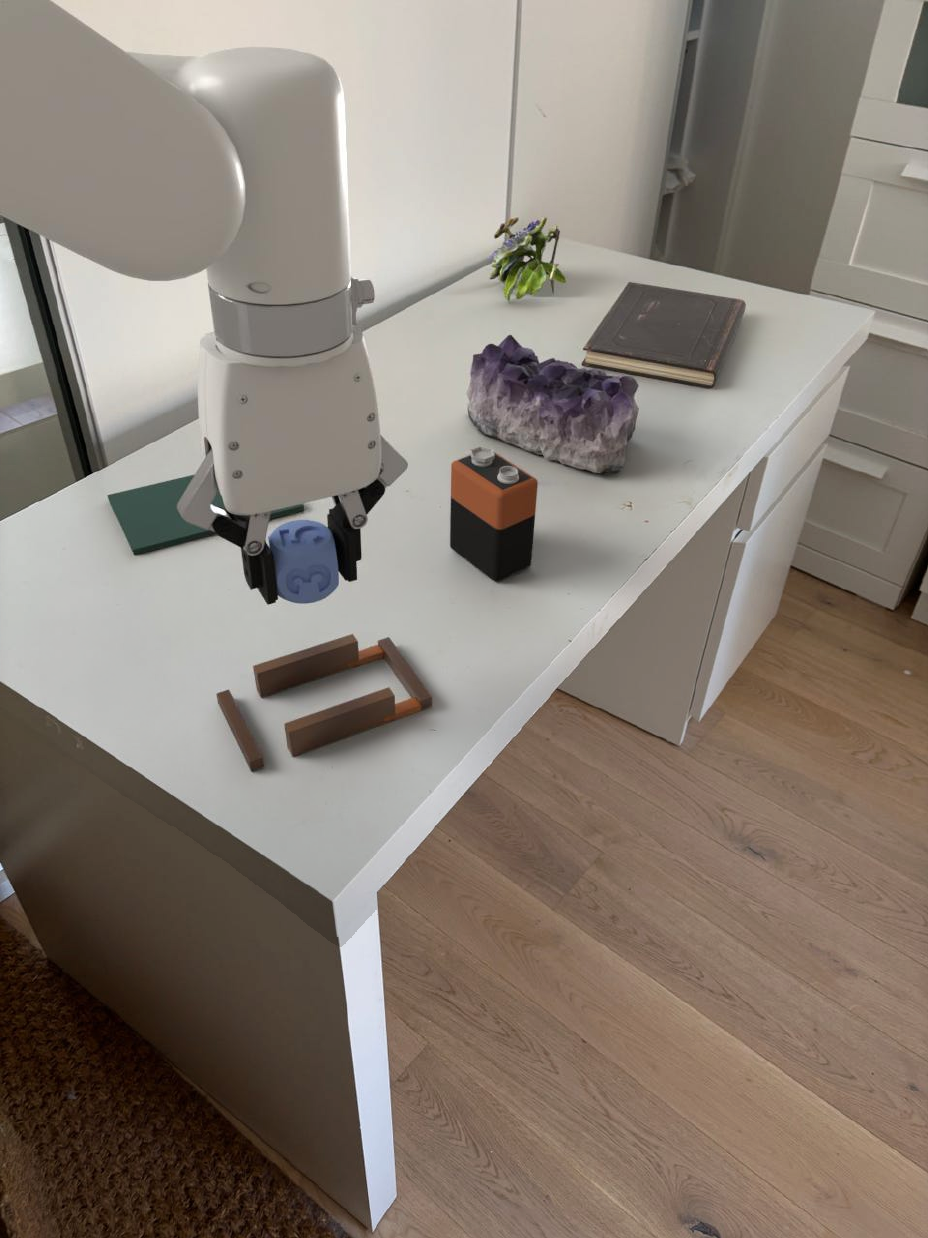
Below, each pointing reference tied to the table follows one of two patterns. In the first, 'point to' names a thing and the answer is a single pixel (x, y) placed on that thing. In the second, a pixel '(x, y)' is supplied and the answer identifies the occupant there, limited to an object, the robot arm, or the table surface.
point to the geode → (552, 407)
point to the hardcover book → (666, 334)
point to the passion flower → (512, 257)
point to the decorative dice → (304, 561)
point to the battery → (492, 513)
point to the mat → (163, 515)
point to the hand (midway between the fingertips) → (304, 578)
